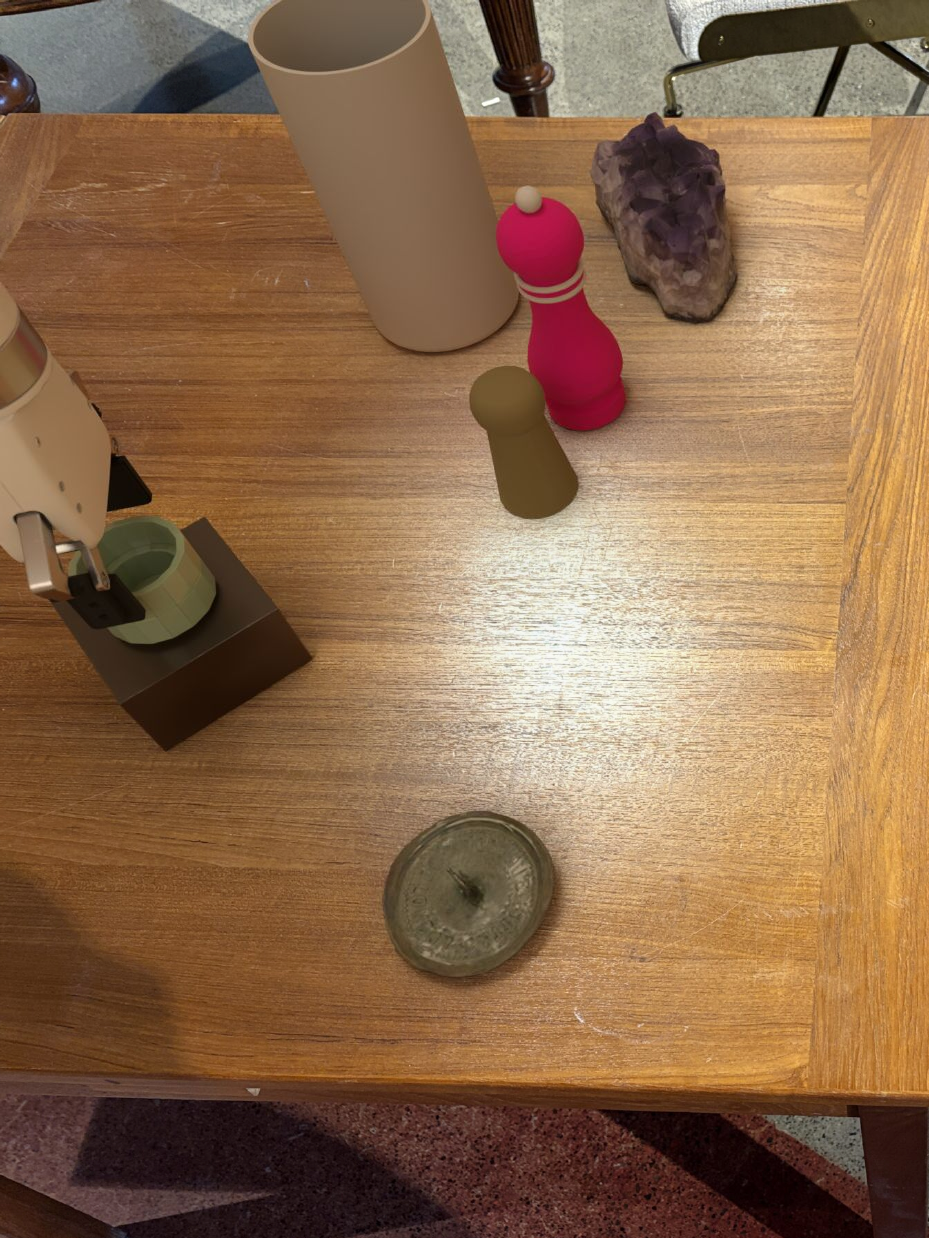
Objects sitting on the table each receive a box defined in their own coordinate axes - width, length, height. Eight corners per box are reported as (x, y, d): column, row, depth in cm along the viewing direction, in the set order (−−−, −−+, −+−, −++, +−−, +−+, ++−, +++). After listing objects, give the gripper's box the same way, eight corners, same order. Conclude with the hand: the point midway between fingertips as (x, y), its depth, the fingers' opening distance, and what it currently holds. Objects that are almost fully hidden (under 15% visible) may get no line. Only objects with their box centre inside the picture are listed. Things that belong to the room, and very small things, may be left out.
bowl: (136, 667, 82) (95, 621, 78) (92, 603, 85) (50, 556, 81) (237, 607, 84) (202, 559, 80) (190, 547, 87) (155, 498, 83)
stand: (165, 752, 85) (119, 704, 80) (97, 653, 90) (50, 602, 85) (313, 659, 89) (278, 608, 84) (241, 569, 94) (204, 515, 89)
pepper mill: (574, 450, 100) (507, 236, 83) (525, 401, 103) (451, 186, 87) (650, 405, 103) (599, 190, 86) (599, 359, 106) (541, 143, 89)
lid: (569, 840, 83) (548, 787, 79) (557, 967, 75) (534, 915, 72) (407, 864, 82) (379, 812, 79) (378, 994, 75) (347, 943, 72)
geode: (784, 303, 109) (759, 210, 101) (658, 352, 108) (622, 263, 100) (712, 162, 119) (684, 67, 111) (596, 206, 118) (559, 114, 110)
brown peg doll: (491, 474, 99) (448, 367, 90) (566, 450, 100) (532, 342, 91) (510, 528, 96) (467, 424, 87) (588, 503, 97) (554, 397, 88)
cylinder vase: (521, 251, 114) (434, -32, 93) (521, 347, 107) (426, 64, 86) (379, 268, 113) (259, -14, 92) (369, 365, 106) (237, 83, 85)
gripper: (-91, 266, 71) (72, 474, 85) (-142, 495, 62) (51, 684, 76) (51, 243, 72) (189, 452, 86) (23, 464, 63) (182, 657, 77)
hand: (124, 561), depth 81 cm, fingers open, 9 cm apart
